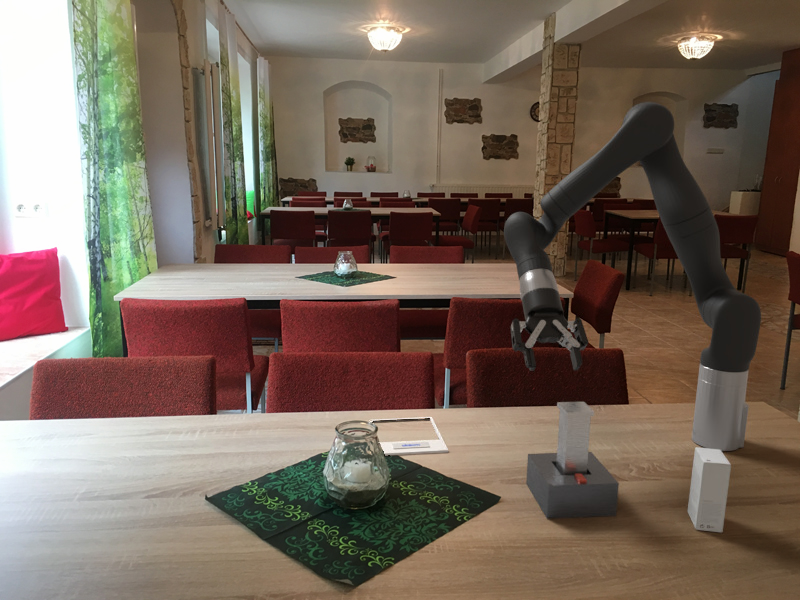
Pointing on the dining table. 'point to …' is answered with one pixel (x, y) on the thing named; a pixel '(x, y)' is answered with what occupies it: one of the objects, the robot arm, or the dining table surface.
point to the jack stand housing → (571, 488)
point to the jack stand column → (573, 437)
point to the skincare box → (709, 489)
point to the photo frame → (414, 443)
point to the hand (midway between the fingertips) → (555, 368)
